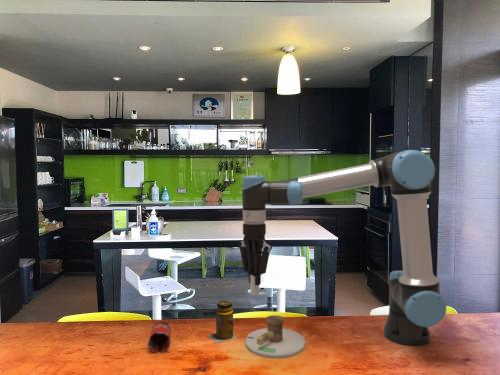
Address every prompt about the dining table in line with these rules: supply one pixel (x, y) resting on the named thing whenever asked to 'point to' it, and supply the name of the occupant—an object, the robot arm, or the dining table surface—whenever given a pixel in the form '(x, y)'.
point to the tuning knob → (272, 330)
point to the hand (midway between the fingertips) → (254, 294)
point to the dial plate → (276, 344)
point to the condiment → (223, 323)
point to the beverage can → (160, 336)
